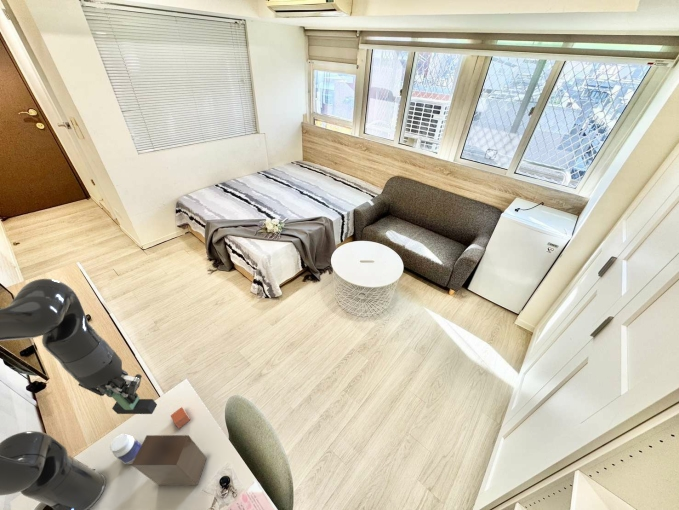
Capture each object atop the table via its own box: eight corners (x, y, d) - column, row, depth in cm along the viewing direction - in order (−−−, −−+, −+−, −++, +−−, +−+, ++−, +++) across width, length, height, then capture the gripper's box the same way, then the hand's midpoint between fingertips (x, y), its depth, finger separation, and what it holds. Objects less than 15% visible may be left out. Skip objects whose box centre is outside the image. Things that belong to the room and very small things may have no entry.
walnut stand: (158, 485, 81) (131, 465, 71) (170, 457, 87) (146, 435, 76) (197, 485, 81) (176, 464, 71) (206, 457, 87) (188, 435, 76)
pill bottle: (147, 445, 90) (134, 432, 84) (135, 465, 85) (120, 454, 79) (131, 443, 90) (117, 430, 84) (119, 463, 86) (102, 452, 80)
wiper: (116, 415, 69) (96, 395, 63) (124, 403, 71) (105, 383, 65) (151, 415, 69) (134, 396, 63) (157, 403, 71) (141, 383, 65)
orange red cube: (190, 419, 96) (186, 414, 94) (179, 428, 94) (174, 423, 91) (185, 411, 98) (181, 406, 96) (174, 420, 96) (170, 415, 94)
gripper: (43, 376, 54) (90, 415, 64) (111, 377, 54) (147, 416, 64) (73, 344, 60) (112, 385, 70) (134, 345, 60) (164, 385, 70)
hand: (128, 399), depth 67 cm, fingers closed on wiper, 2 cm apart
